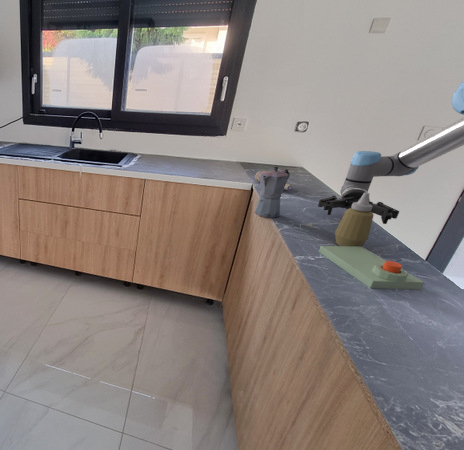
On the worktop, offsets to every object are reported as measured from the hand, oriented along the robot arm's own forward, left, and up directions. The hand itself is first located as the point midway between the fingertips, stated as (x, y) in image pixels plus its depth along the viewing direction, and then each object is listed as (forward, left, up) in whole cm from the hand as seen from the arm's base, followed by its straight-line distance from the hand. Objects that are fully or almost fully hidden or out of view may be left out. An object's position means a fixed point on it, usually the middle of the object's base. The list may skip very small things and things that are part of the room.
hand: (357, 215), depth 100 cm
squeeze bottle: (+1, +2, -10) cm, 10 cm away
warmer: (+7, +17, -10) cm, 21 cm away
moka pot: (+12, -27, -10) cm, 31 cm away
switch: (+7, +24, -6) cm, 26 cm away
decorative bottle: (-10, -67, -10) cm, 68 cm away
